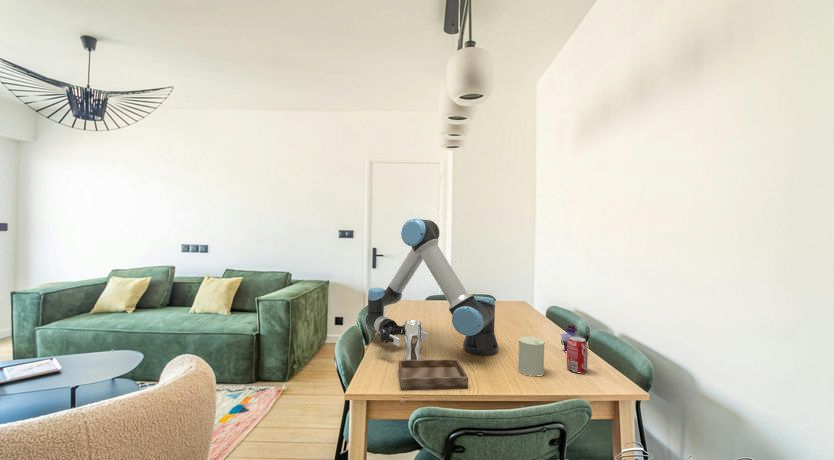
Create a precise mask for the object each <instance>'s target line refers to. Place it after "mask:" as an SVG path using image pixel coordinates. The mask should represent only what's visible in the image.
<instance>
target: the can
mask: <svg viewBox="0 0 834 460" xmlns="http://www.w3.org/2000/svg"><path fill="white" fill-rule="evenodd" d="M517 371H518V372H519V373H520V372H521V373H520V374H522V373H523V374H522V375H524V374H526V375H525V376H527V375H531V376H530V377H532V376H537V375H542V374H544V375H545V341H544V340H543V339H541V338H538V337H533V336H520V337H519V338H518V367H517Z"/></svg>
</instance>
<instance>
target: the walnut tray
mask: <svg viewBox="0 0 834 460" xmlns="http://www.w3.org/2000/svg"><path fill="white" fill-rule="evenodd" d="M397 369H398V377H399V387H400V391H417V390H418V391H421V390H424V391H425V390H427V391H428V390H458V389H459V390H461V389H465V390H466V389H469V376H468V375H467V373H466V372H465V369H464V368H463V367H462V365H461V363H460V361H459V360H458V358H454V359H451V358H449V359H446V358H445V359H444V358H443V359H442V358H441V359H420V360H405V359H401V360H400V359H399V360H398V368H397Z"/></svg>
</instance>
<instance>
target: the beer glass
mask: <svg viewBox="0 0 834 460" xmlns="http://www.w3.org/2000/svg"><path fill="white" fill-rule="evenodd" d="M404 324H405V329H404V335H403V338H404V343H405V344H404V345H405V357H404V360H421V357H420V356H421V355H420V348H421V342H422V338H421V337H422V331H423V326H422V321H421V320H416V319H415V320H414V319H412V320H406V321H405V322H404Z"/></svg>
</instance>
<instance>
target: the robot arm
mask: <svg viewBox="0 0 834 460" xmlns="http://www.w3.org/2000/svg"><path fill="white" fill-rule="evenodd" d="M400 235H401V236H400V237H401V239H402V242H403V243H404V244H405V245H407V246H409V247H411V249H410V251H409V252H408V254H407V256H406V257H405V258H404V260H403V262H402V263H401V265H400V267H399V268H398V270H397V271H396V273H395V274H394V277H393V278H392V279H391V281H390V283H389V284H388V286H387V287H386V289H384V288H383V287H371V288H369V289H368V292H367V293H368V295H367V313H366V314H365V315H364V317H363V323H364V325H365V327H367V328H368V329H370V330H373V331H374V332H376V333H377V334H378V336H379V339H380V342H381V343H382V342H385V344H389V343H391V344H393V345H395V346H397V347H400V346H401V345H400V340H401V339H400V338H399V337H397V336H398V335H401V336H404V329H405V323H404V324H403V325H398V324H397V322H396V321H395V320H393V319H391V318H389V317H387V316H385V315H384V314H385V307H386V306H390V305H392V304H396V303H398V302H400V301H401V299H402V295H403V291H404V290H405V289H406V287H407V286H408V284H409V282H410V281H411V279H412V278H413V276H414V274H415V273H416V271H417V270H418V268H419V267H420V265H421V264H422V262H424V263H425V265H426V266H427V268H428V270H429V272H430V273H431V275H432V277H433V278H434V280H435V282H436V283H437V285H438V287H439V288H440V290H441V292H442V293H443V295H444V297H445V299H446V300H447V302H448V304H449V307H448V311H449V312H450V314H451V323H452V326H453V328H454V330H455V331H456V332H458V333H459V334H461V335H462V336H465V337H464V340H463V343H462V349H463V350H464V351H465V352H467V353H469V354H472V355H477V356H478V355H479V356H492V355H495V354H497V353H498V352H499V344H498V341H497V337H496V334H495V333H496V332H495V326H496V325H495V320H496V319H495V318H496V317H495V316H496V315H495V314H496V313H495V312H496V301H495V299H494V298H493V297H487V296H481V295H480V296H478V295H474V294H472V293H468V292H467V290H466V287H464V284H462V282H461V280H460V279H459V277H458V275H457V274H456V272H455V271H454V269H453V267H452V265H451V264H450V263H449V261H448V260H447V258H446V257H445V255H444V253H443V251H442V250H441V248H440V247H439V245H438V243H439V240H440V239H439V237H440V235H441V234H440V228H439V226H438V224H437V223H436V222H435V221H432V220H431V219H421V218H411V219H409V220H407V221H405V222H404V224H403V225H402V227H401V232H400ZM428 334H429V333H428V332H426V331H423V330H422V337H421V340H424V341H428V340H429V339H428V338H429V336H428ZM395 335H396V336H395Z"/></svg>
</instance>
